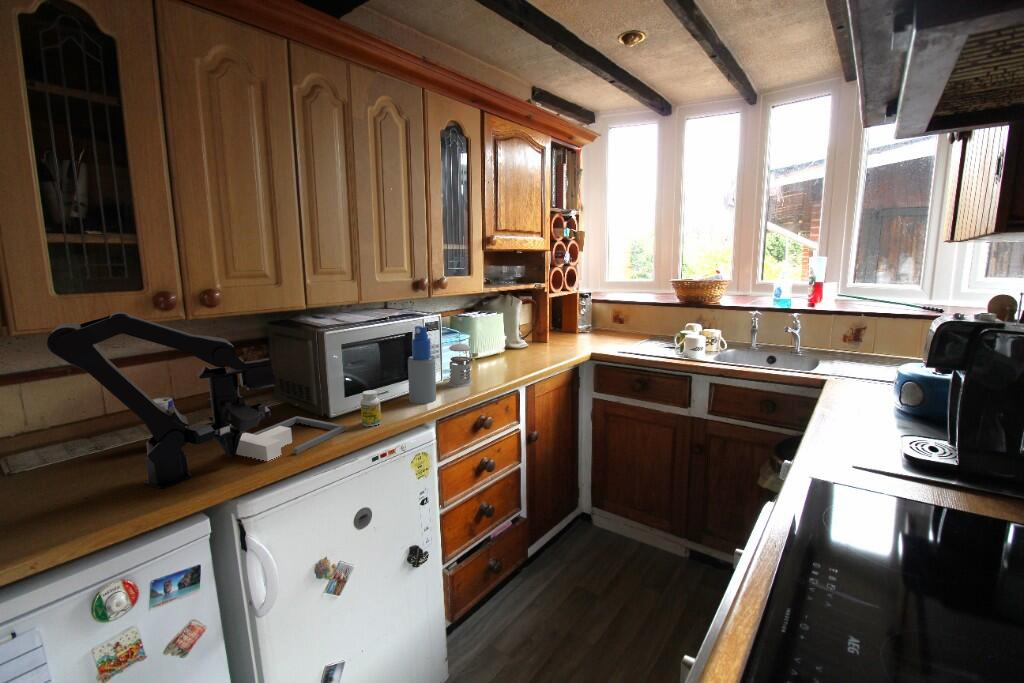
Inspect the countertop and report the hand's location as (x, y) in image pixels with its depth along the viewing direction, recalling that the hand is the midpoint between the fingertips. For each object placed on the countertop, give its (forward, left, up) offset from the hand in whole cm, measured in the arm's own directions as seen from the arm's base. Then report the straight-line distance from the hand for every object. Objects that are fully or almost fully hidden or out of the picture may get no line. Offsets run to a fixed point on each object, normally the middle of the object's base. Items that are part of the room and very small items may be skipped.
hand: (231, 457), depth 114 cm
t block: (+10, 0, -2) cm, 10 cm away
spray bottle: (+60, -13, -2) cm, 62 cm away
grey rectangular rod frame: (+19, 0, -2) cm, 19 cm away
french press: (+83, -15, -2) cm, 84 cm away
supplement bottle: (+35, -12, -2) cm, 37 cm away
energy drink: (+1, +26, -2) cm, 26 cm away
